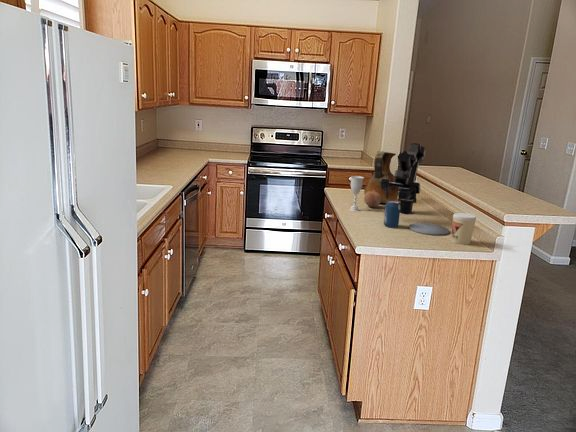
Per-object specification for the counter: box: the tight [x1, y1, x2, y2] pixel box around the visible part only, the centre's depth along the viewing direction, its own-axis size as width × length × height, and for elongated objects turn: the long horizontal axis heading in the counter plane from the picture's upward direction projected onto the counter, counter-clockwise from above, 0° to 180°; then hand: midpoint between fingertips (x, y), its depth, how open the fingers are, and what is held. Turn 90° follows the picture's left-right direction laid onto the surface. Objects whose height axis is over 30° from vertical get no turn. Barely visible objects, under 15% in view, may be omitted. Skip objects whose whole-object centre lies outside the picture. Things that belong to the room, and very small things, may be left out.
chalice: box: [349, 175, 365, 212], centre depth 248 cm, size 7×7×18 cm
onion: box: [363, 190, 382, 208], centre depth 257 cm, size 10×9×10 cm
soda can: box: [383, 200, 400, 229], centre depth 219 cm, size 7×7×12 cm
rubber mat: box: [408, 222, 450, 236], centre depth 217 cm, size 18×18×1 cm
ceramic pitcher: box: [363, 150, 400, 204], centre depth 271 cm, size 20×20×30 cm
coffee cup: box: [451, 212, 477, 246], centre depth 199 cm, size 9×9×12 cm
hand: (396, 199), depth 222 cm, fingers open, 9 cm apart
